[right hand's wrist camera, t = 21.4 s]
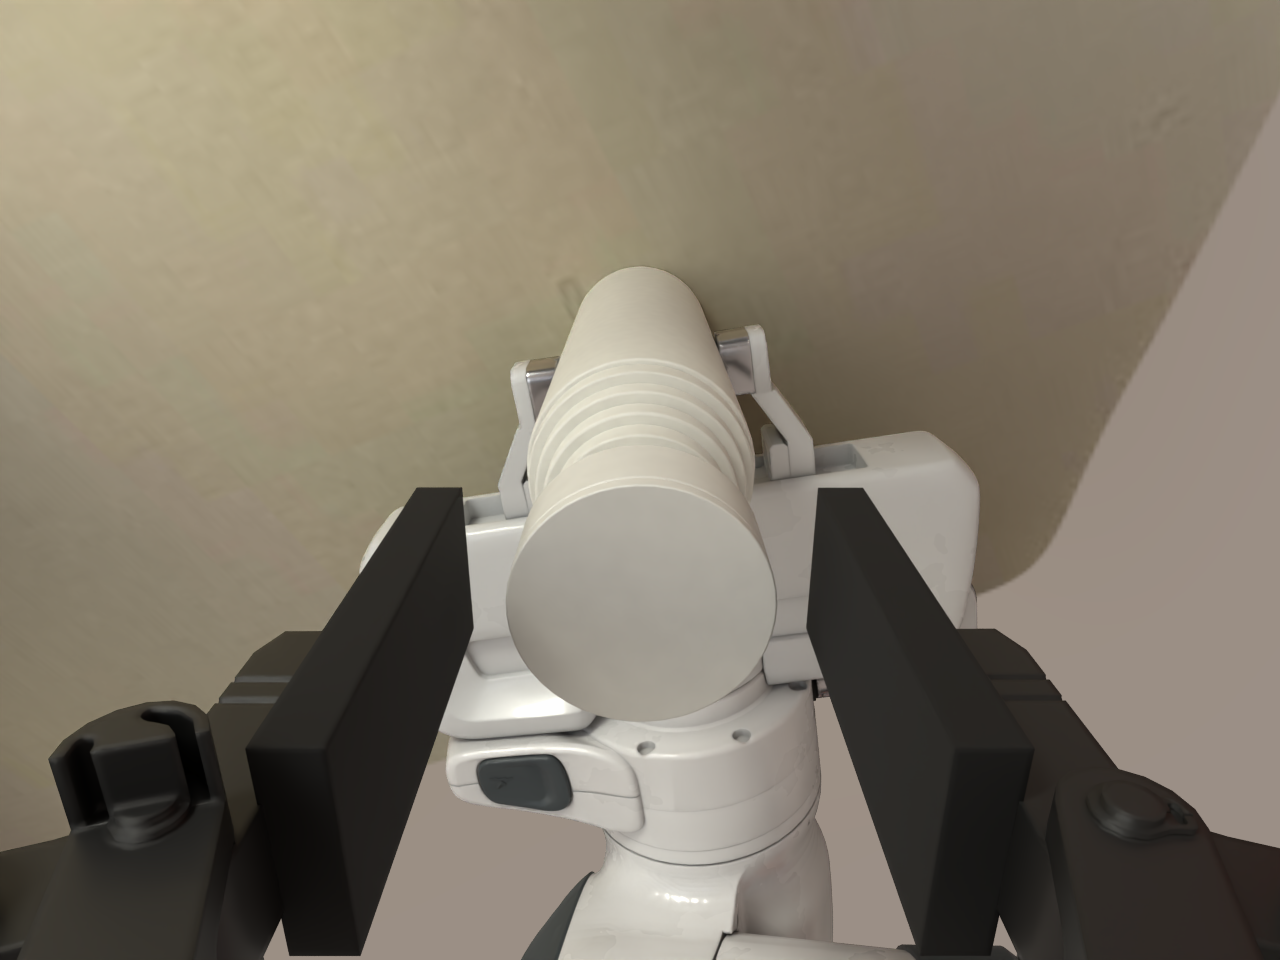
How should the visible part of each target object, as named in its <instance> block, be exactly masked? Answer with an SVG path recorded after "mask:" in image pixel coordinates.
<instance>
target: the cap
mask: <svg viewBox="0 0 1280 960" xmlns="http://www.w3.org/2000/svg"><path fill="white" fill-rule="evenodd" d="M776 613H777V590H776V584H775V580H774V575H773V571H772V568H771V565H770V562H769V558H768V555H767V552H766V549H765V546H764V542H763V539H762V536H761V533H760V530H759V527H758V524H757V521H756V518H755V516H754V513H753V511H752V509H751V507H750V505H749V504H748V502H747V500H746V498H745V497H744V496H743V494H742V493H741V492H740V490H739V489H738V488H737V486H736V485H735V484H734V483H733V482H732V481H731V480H730V479H729V478H728V477H727V476H726V475H724V474H723V473H722V472H720V471H719V470H718V469H717V468H715V467H714V466H712V465H711V464H709V463H707V462H705V461H704V460H702V459H700V458H698V457H696V456H693V455H691V454H688V453H686V452H683V451H679V450H676V449H672V448H668V447H661V446H654V445H630V446H620V447H615V448H611V449H607V450H603V451H600V452H597V453H594V454H592V455H589V456H587V457H585V458H583V459H581V460H579V461H577V462H575V463H573V464H572V465H571V466H569V467H568V468H566V469H565V470H563V471H562V472H561V473H559V474H558V475H557V476H556V477H555V478H554V479H553V480H552V481H551V482H550V483H549V484H548V485H547V486H546V487H545V489H544V490H543V491H542V492H541V494H540V495H539V496H538V498H537V500H536V501H535V503H534V505H533V506H532V508H531V510H530V513H529V515H528V517H527V520H526V522H525V525H524V529H523V532H522V535H521V538H520V542H519V545H518V548H517V551H516V555H515V558H514V561H513V564H512V568H511V571H510V575H509V579H508V583H507V591H506V616H507V621H508V626H509V631H510V634H511V636H512V639H513V642H514V645H515V647H516V649H517V651H518V653H519V655H520V656H521V658H522V660H523V661H524V663H525V664H526V666H527V667H528V668H529V670H530V671H531V673H532V674H533V675H534V676H535V677H536V678H537V679H538V680H539V681H540V682H541V683H542V684H543V685H544V686H545V687H546V688H548V689H549V690H550V691H551V692H552V693H554V694H555V695H557V696H558V697H560V698H561V699H563V700H564V701H566V702H567V703H569V704H571V705H573V706H575V707H577V708H579V709H581V710H584V711H587V712H589V713H592V714H595V715H598V716H602V717H606V718H610V719H615V720H623V721H635V722H649V721H660V720H667V719H672V718H677V717H681V716H684V715H687V714H691V713H694V712H697V711H699V710H701V709H703V708H705V707H708V706H710V705H712V704H713V703H715V702H717V701H718V700H720V699H722V698H723V697H725V696H726V695H728V694H729V693H730V692H731V691H733V690H734V689H735V688H737V687H738V686H739V685H740V684H741V683H742V682H743V681H744V680H745V679H746V678H747V677H748V676H749V675H750V673H751V672H752V671H753V669H754V668H755V667H756V666H757V664H758V663H759V661H760V659H761V658H762V656H763V654H764V652H765V651H766V649H767V646H768V644H769V641H770V639H771V636H772V634H773V629H774V625H775V621H776Z"/></svg>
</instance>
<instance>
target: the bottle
mask: <svg viewBox="0 0 1280 960" xmlns="http://www.w3.org/2000/svg"><path fill="white" fill-rule="evenodd" d="M630 445H654V446H661V447H668V448H672V449H676V450H679V451H683V452H686V453H688V454H691V455H693V456H696V457H698V458H700V459H702V460H704V461H705V462H707V463H709V464H711V465H712V466H714V467H715V468H717V469H718V470H719V471H720V472H722V473H723V474H724V475H726V476H727V477H728V478H729V479H730V480H731V481H732V482H733V483H734V484H735V485H736V486H737V488H738V489H739V490H740V492H741V493H742V494H743V496H744V497H745V498H746V500H747V502H748V504H749V505H750V502H751V498H752V493H753V485H754V474H755V452H754V447H753V442H752V437H751V434H750V431H749V429H748V426H747V423H746V420H745V418H744V415H743V413H742V410H741V408H740V405H739V402H738V400H737V397H736V395H735V392H734V390H733V387H732V384H731V382H730V379H729V377H728V374H727V371H726V369H725V366H724V364H723V361H722V359H721V356H720V353H719V351H718V348H717V346H716V343H715V341H714V338H713V335H712V333H711V330H710V328H709V325H708V323H707V320H706V317H705V315H704V312H703V310H702V307H701V305H700V303H699V301H698V299H697V297H696V296H695V295H694V293H693V292H692V290H691V289H690V288H689V287H688V286H687V285H686V284H685V283H684V282H682V281H681V280H680V279H679V278H677V277H676V276H674V275H672V274H670V273H668V272H666V271H664V270H660V269H657V268H652V267H643V266H637V267H629V268H624V269H621V270H618V271H615V272H613V273H611V274H609V275H607V276H605V277H604V278H603V279H601V280H600V281H599V282H597V283H596V284H595V285H594V286H593V287H592V288H591V290H590V291H589V292H588V293H587V295H586V296H585V298H584V300H583V301H582V303H581V306H580V308H579V310H578V313H577V316H576V318H575V321H574V323H573V326H572V329H571V331H570V334H569V337H568V339H567V342H566V344H565V347H564V350H563V352H562V355H561V358H560V360H559V363H558V365H557V368H556V371H555V373H554V376H553V378H552V381H551V384H550V386H549V389H548V392H547V394H546V397H545V399H544V402H543V405H542V407H541V410H540V413H539V415H538V418H537V420H536V423H535V426H534V428H533V431H532V434H531V438H530V442H529V446H528V454H527V475H528V486H529V492H530V498H531V501H532V505H534V503H535V501H536V500H537V498H538V496H539V495H540V494H541V492H542V491H543V490H544V489H545V487H546V486H547V485H548V484H549V483H550V482H551V481H552V480H553V479H554V478H555V477H556V476H557V475H558V474H559V473H561V472H562V471H563V470H565V469H566V468H568V467H569V466H571V465H572V464H573V463H575V462H577V461H579V460H581V459H583V458H585V457H587V456H589V455H592V454H594V453H597V452H600V451H603V450H607V449H611V448H615V447H620V446H630Z"/></svg>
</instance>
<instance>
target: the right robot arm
mask: <svg viewBox="0 0 1280 960" xmlns="http://www.w3.org/2000/svg"><path fill="white" fill-rule="evenodd" d="M473 629H474V623H473V611H472V599H471V588H470V576H469V564H468V552H467V540H466V528H465V517H464V505H463V493H462V488H416V490H415V491H414V493H413V494H412V496H411V497H410V499H409V500H408V502H407V503H406V505H405V506H404V508H403V509H402V511H401V512H400V514H399V515H398V517H397V519H396V520H395V522H394V523H393V525H392V526H391V528H390V529H389V531H388V532H387V534H386V535H385V537H384V538H383V540H382V541H381V543H380V544H379V546H378V547H377V549H376V550H375V552H374V553H373V555H372V556H371V558H370V560H369V561H368V563H367V564H366V566H365V567H364V569H363V570H362V572H361V573H360V575H359V576H358V578H357V579H356V581H355V582H354V584H353V585H352V587H351V588H350V590H349V591H348V593H347V594H346V596H345V597H344V599H343V601H342V602H341V604H340V605H339V607H338V608H337V610H336V611H335V613H334V614H333V616H332V617H331V619H330V620H329V622H328V623H327V625H326V626H325V628H324V629H323V631H285V632H284V633H282V634H281V635H279V636H278V637H276V638H275V639H273V640H272V641H271V642H269V643H268V644H266V645H265V646H263V647H262V648H260V649H259V650H257V651H256V652H254V653H253V655H252V656H251V657H250V658H249V660H248V661H247V662H246V664H245V665H244V666H243V668H242V669H241V670H240V672H239V673H238V674H237V675H236V677H235V682H231V683H230V685H229V686H228V687H227V689H226V690H225V691H224V692H223V694H222V695H221V696H220V698H219V703H218V704H214V705H213V707H212V708H211V709H210V711H209V712H208V713H207V714H205V713H204V712H203V711H202V710H201V709H199V708H198V707H197V706H196V705H192V704H187V703H183V702H178V701H161V702H146V703H143V704H139V705H135V706H131V707H127V708H123V709H119V710H116V711H114V712H112V713H109V714H107V715H105V716H103V717H100V718H98V719H96V720H94V721H92V722H89V723H87V724H86V725H84V726H83V727H82V728H80V729H79V730H77V731H76V732H75V733H73V734H72V735H70V736H69V737H67V738H66V739H65V740H63V741H62V743H61V744H60V745H59V746H58V748H57V749H56V750H55V751H54V753H53V754H52V755H51V756H50V757H49V759H48V760H49V763H50V766H51V769H52V772H53V775H54V779H55V782H56V785H57V788H58V791H59V794H60V797H61V800H62V803H63V806H64V810H65V813H66V816H67V819H68V822H69V825H70V828H71V832H70V834H69V836H65V837H62V838H58V839H55V840H51V841H47V842H42V843H38V844H34V845H29V846H25V847H20V848H16V849H11V850H7V851H3V852H0V960H264V958H263V956H264V954H265V952H266V950H267V947H268V945H269V943H270V941H271V939H272V937H273V935H274V932H275V930H276V928H277V926H278V924H279V922H280V920H281V919H282V924H283V928H284V933H285V938H286V942H287V947H288V952H289V956H360V955H361V953H362V950H363V947H364V944H365V941H366V938H367V935H368V932H369V929H370V927H371V924H372V921H373V918H374V915H375V912H376V909H377V906H378V904H379V901H380V898H381V895H382V892H383V889H384V886H385V883H386V881H387V877H388V875H389V872H390V869H391V866H392V863H393V860H394V857H395V855H396V851H397V849H398V846H399V843H400V840H401V837H402V834H403V831H404V828H405V826H406V823H407V820H408V817H409V814H410V811H411V808H412V805H413V803H414V800H415V797H416V794H417V791H418V788H419V785H420V782H421V779H422V776H423V774H424V771H425V768H426V765H427V762H428V759H429V756H430V754H431V751H432V748H433V745H434V742H435V739H436V736H437V733H438V730H439V728H440V725H441V722H442V719H443V716H444V713H445V710H446V707H447V704H448V702H449V699H450V696H451V693H452V690H453V687H454V684H455V681H456V678H457V676H458V673H459V670H460V667H461V664H462V661H463V658H464V655H465V652H466V650H467V647H468V644H469V641H470V638H471V635H472V632H473ZM806 629H807V632H808V635H809V638H810V641H811V644H812V647H813V650H814V653H815V655H816V658H817V661H818V664H819V667H820V670H821V673H822V676H823V678H824V681H825V684H826V687H827V690H828V693H829V696H830V699H831V702H832V704H833V707H834V710H835V713H836V716H837V719H838V722H839V724H840V727H841V730H842V733H843V736H844V739H845V742H846V745H847V748H848V751H849V754H850V756H851V759H852V762H853V765H854V768H855V771H856V774H857V776H858V780H859V782H860V785H861V788H862V791H863V794H864V797H865V800H866V803H867V805H868V808H869V811H870V814H871V817H872V820H873V823H874V826H875V829H876V831H877V834H878V837H879V840H880V843H881V846H882V849H883V852H884V854H885V857H886V860H887V863H888V866H889V869H890V872H891V875H892V878H893V880H894V883H895V886H896V889H897V892H898V895H899V898H900V901H901V904H902V906H903V909H904V912H905V915H906V918H907V921H908V924H909V927H910V929H911V932H912V935H913V938H914V941H915V944H916V947H917V950H918V953H919V956H991V952H992V947H993V942H994V938H995V933H996V928H997V924H998V919H999V915H1000V918H1001V920H1002V922H1003V924H1004V926H1005V928H1006V930H1007V932H1008V935H1009V937H1010V939H1011V941H1012V943H1013V945H1014V947H1015V950H1016V952H1017V957H1016V960H1280V848H1276V847H1272V846H1267V845H1262V844H1258V843H1254V842H1249V841H1245V840H1240V839H1236V838H1231V837H1227V836H1224V835H1220V834H1217V833H1214V832H1210V830H1209V828H1208V827H1207V826H1206V824H1205V823H1204V821H1203V820H1202V818H1201V817H1200V816H1199V814H1198V813H1197V811H1196V810H1195V809H1194V808H1193V807H1192V806H1190V805H1189V804H1188V803H1187V802H1186V801H1184V800H1183V799H1182V798H1181V797H1179V796H1178V795H1177V794H1176V793H1174V792H1173V791H1172V790H1170V789H1168V788H1166V787H1164V786H1162V785H1160V784H1158V783H1156V782H1154V781H1152V780H1150V779H1148V778H1146V777H1144V776H1140V775H1137V774H1133V773H1130V772H1127V771H1123V770H1120V769H1118V768H1117V767H1116V765H1115V764H1114V763H1113V761H1112V760H1111V759H1110V757H1109V756H1108V755H1107V754H1106V752H1105V751H1104V750H1103V748H1102V747H1101V746H1100V745H1099V743H1098V742H1097V741H1096V739H1095V738H1094V737H1093V735H1092V734H1091V733H1090V732H1089V730H1088V729H1087V728H1086V726H1085V725H1084V724H1083V722H1082V721H1081V720H1080V719H1079V717H1078V716H1077V715H1076V713H1075V712H1074V711H1073V710H1072V708H1071V707H1070V706H1069V704H1068V703H1067V702H1066V701H1062V698H1061V694H1060V693H1059V691H1058V690H1057V689H1056V688H1055V686H1054V685H1053V684H1052V682H1051V681H1050V680H1046V675H1045V673H1044V672H1043V671H1042V669H1041V668H1040V667H1039V665H1038V664H1037V663H1036V662H1035V660H1034V659H1033V658H1032V656H1031V655H1030V654H1029V652H1028V651H1027V650H1026V649H1024V648H1023V647H1021V646H1020V645H1018V644H1017V643H1015V642H1014V641H1012V640H1011V639H1009V638H1008V637H1006V636H1005V635H1003V634H1002V633H1000V632H999V631H998V630H996V629H956V628H955V626H954V625H953V623H952V622H951V620H950V619H949V617H948V616H947V614H946V613H945V611H944V610H943V608H942V607H941V605H940V604H939V602H938V601H937V599H936V597H935V596H934V594H933V593H932V591H931V590H930V588H929V587H928V585H927V584H926V582H925V581H924V579H923V578H922V576H921V575H920V573H919V572H918V570H917V569H916V567H915V566H914V564H913V563H912V561H911V560H910V558H909V556H908V555H907V553H906V552H905V550H904V549H903V547H902V546H901V544H900V543H899V541H898V540H897V538H896V537H895V535H894V534H893V532H892V531H891V529H890V528H889V526H888V525H887V523H886V522H885V520H884V519H883V517H882V516H881V514H880V512H879V511H878V509H877V508H876V506H875V505H874V503H873V502H872V500H871V499H870V497H869V496H868V494H867V493H866V491H865V490H864V488H818V493H817V505H816V517H815V528H814V540H813V552H812V564H811V576H810V588H809V599H808V611H807V623H806Z"/></svg>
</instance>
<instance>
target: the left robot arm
mask: <svg viewBox="0 0 1280 960" xmlns="http://www.w3.org/2000/svg"><path fill="white" fill-rule="evenodd" d="M714 338H715V343H716V346H717V348H718V351H719V353H720V356H721V359H722V361H723V364H724V366H725V369H726V371H727V374H728V377H729V379H730V382H731V384H732V387H733V390H734V392H735V395H743V394H751V395H752V397H753V398H754V399H755V400H756V402H757V403H758V404H759V406H760V407H761V408H762V410H763V411H764V412H765V413H766V415H767V416H768V417H769V419H770V420H771V421H772V422H773V424H767V425H763V426H762V427H761V428H760V429H761V439H762V449H763V453H762V454H755V474H754V485H753V493H752V498H751V502H750V507H751V509H752V511H753V513H754V516H755V518H756V521H757V524H758V527H759V530H760V533H761V536H762V539H763V542H764V546H765V549H766V552H767V555H768V558H769V562H770V565H771V568H772V571H773V575H774V580H775V584H776V590H777V613H776V621H775V625H774V629H773V634H772V636H771V639H770V641H769V644H768V646H767V649H766V651H765V652H764V654H763V656H762V658H761V659H760V661H759V663H758V664H757V666H756V667H755V668H754V669H753V671H752V672H751V673H750V675H749V676H748V677H747V678H746V679H745V680H744V681H743V682H742V683H741V684H740V685H739V686H738V687H737V688H735V689H734V690H733V691H731V692H730V693H729V694H728V695H726V696H725V697H723V698H722V699H720V700H718V701H717V702H715V703H713V704H712V705H710V706H708V707H705V708H703V709H701V710H699V711H697V712H694V713H691V714H687V715H684V716H681V717H677V718H672V719H667V720H660V721H649V722H635V721H623V720H615V719H610V718H606V717H602V716H598V715H595V714H592V713H589V712H587V711H584V710H581V709H579V708H577V707H575V706H573V705H571V704H569V703H567V702H566V701H564V700H563V699H561V698H560V697H558V696H557V695H555V694H554V693H552V692H551V691H550V690H549V689H548V688H546V687H545V686H544V685H543V684H542V683H541V682H540V681H539V680H538V679H537V678H536V677H535V676H534V675H533V674H532V673H531V671H530V670H529V668H528V667H527V666H526V664H525V663H524V661H523V660H522V658H521V656H520V655H519V653H518V651H517V649H516V647H515V645H514V642H513V639H512V636H511V634H510V631H509V626H508V621H507V616H506V591H507V583H508V579H509V575H510V571H511V568H512V564H513V561H514V558H515V555H516V551H517V548H518V545H519V542H520V538H521V535H522V532H523V529H524V525H525V522H526V520H527V517H528V515H529V513H530V510H531V508H532V506H533V505H532V501H531V498H530V492H529V486H528V475H527V454H528V446H529V442H530V438H531V434H532V431H533V428H534V426H535V423H536V420H537V418H538V415H539V413H540V410H541V407H542V405H543V402H544V399H545V397H546V394H547V392H548V389H549V386H550V384H551V381H552V378H553V376H554V373H555V371H556V368H557V365H558V363H559V360H560V358H561V357H560V356H556V357H549V358H541V359H534V360H526V361H521V362H516V363H514V365H513V367H512V369H511V386H512V391H513V396H514V400H515V405H516V409H517V414H518V418H519V426H518V428H517V430H516V433H515V436H514V439H513V442H512V445H511V448H510V451H509V454H508V457H507V459H506V462H505V465H504V468H503V471H502V474H501V477H500V480H499V483H498V488H499V492H496V493H490V494H483V495H476V496H469V497H463V505H464V517H465V528H466V540H467V552H468V564H469V576H470V588H471V599H472V611H473V623H474V629H473V632H472V635H471V638H470V641H469V644H468V647H467V650H466V652H465V655H464V658H463V661H462V664H461V667H460V670H459V673H458V676H457V678H456V681H455V684H454V687H453V690H452V693H451V696H450V699H449V702H448V704H447V707H446V710H445V713H444V716H443V719H442V722H441V725H440V728H439V730H438V731H439V732H441V733H444V734H446V735H449V736H450V738H449V744H448V751H447V758H446V775H447V779H448V783H449V785H450V788H451V790H452V792H453V793H454V795H455V796H456V797H458V798H459V799H461V800H462V801H465V802H467V803H471V804H475V805H481V806H488V807H496V808H505V809H512V810H520V811H526V812H533V813H539V814H545V815H550V816H555V817H561V818H566V819H570V820H574V821H578V822H582V823H586V824H589V825H593V826H596V827H600V828H602V829H603V832H604V834H605V838H606V854H605V859H604V864H603V867H602V868H601V870H600V871H599V872H597V873H594V872H590V873H589V874H587V875H586V876H585V877H584V878H583V879H582V880H581V881H580V882H579V883H578V884H577V885H576V886H575V887H574V888H573V889H572V890H571V891H570V892H569V894H568V895H567V896H566V897H565V899H564V900H563V901H562V903H561V904H560V905H559V907H558V908H557V909H556V910H555V912H554V913H553V914H552V915H551V917H550V918H549V919H548V921H547V922H546V923H545V925H544V926H543V927H542V928H541V930H540V931H539V932H538V934H537V935H536V937H535V938H534V939H533V941H532V942H531V944H530V946H529V947H528V949H527V950H526V952H525V954H524V956H523V957H522V959H521V960H1016V956H1015V955H1013V954H1012V953H1011V952H1009V951H1008V950H1007V949H1006V948H1004V947H1002V946H993V947H992V952H991V956H919V953H918V950H917V947H916V945H900V946H898V947H897V949H890V948H881V947H872V946H862V945H853V944H844V943H834V942H833V908H832V888H831V874H830V863H829V855H828V850H827V846H826V842H825V839H824V836H823V834H822V831H821V829H820V827H819V825H818V823H817V821H816V819H815V814H816V811H817V808H818V803H819V798H820V793H821V770H820V759H819V749H818V739H817V728H816V719H815V709H814V703H813V701H816V698H822V697H830V696H829V693H828V690H827V687H826V684H825V681H824V678H823V676H822V673H821V670H820V667H819V664H818V661H817V658H816V655H815V653H814V650H813V647H812V644H811V641H810V638H809V635H808V632H807V629H806V623H807V611H808V599H809V588H810V576H811V564H812V552H813V540H814V528H815V517H816V505H817V493H818V488H864V490H865V491H866V493H867V494H868V496H869V497H870V499H871V500H872V502H873V503H874V505H875V506H876V508H877V509H878V511H879V512H880V514H881V516H882V517H883V519H884V520H885V522H886V523H887V525H888V526H889V528H890V529H891V531H892V532H893V534H894V535H895V537H896V538H897V540H898V541H899V543H900V544H901V546H902V547H903V549H904V550H905V552H906V553H907V555H908V556H909V558H910V560H911V561H912V563H913V564H914V566H915V567H916V569H917V570H918V572H919V573H920V575H921V576H922V578H923V579H924V581H925V582H926V584H927V585H928V587H929V588H930V590H931V591H932V593H933V594H934V596H935V597H936V599H937V601H938V602H939V604H940V605H941V607H942V608H943V610H944V611H945V613H946V614H947V616H948V617H949V619H950V620H951V622H952V623H953V625H954V626H955V628H956V629H977V597H976V593H975V590H974V587H973V585H972V583H971V582H972V576H973V571H974V564H975V557H976V549H977V539H978V528H979V513H980V488H979V483H978V480H977V478H976V476H975V474H974V472H973V471H972V470H971V468H970V467H969V466H968V465H967V463H966V462H965V461H964V460H963V459H962V458H961V457H960V456H959V455H958V454H957V453H956V452H955V451H954V450H952V449H951V448H950V447H949V446H948V445H946V444H945V443H944V442H942V441H941V440H940V439H938V438H937V437H936V436H934V435H933V434H931V433H929V432H926V431H911V432H905V433H898V434H891V435H884V436H878V437H871V438H864V439H857V440H850V441H843V442H837V443H830V444H823V445H816V446H813V438H812V437H811V435H810V433H809V432H808V430H807V428H806V426H805V425H804V423H803V421H802V420H801V418H800V417H799V415H798V414H797V413H796V412H795V410H794V409H793V408H792V406H791V405H790V404H789V402H788V401H787V400H786V399H785V397H784V396H783V395H782V393H781V392H780V391H779V389H778V388H777V387H776V386H775V384H774V383H773V382H772V380H771V377H770V367H769V357H768V348H767V341H766V337H765V332H764V330H763V329H762V327H761V326H760V324H758V325H751V326H745V327H739V328H733V329H727V330H721V331H715V332H714ZM403 508H404V506H403V507H400V508H397V509H396V510H395V511H393V512H392V513H391V514H390V515H389V517H388V518H387V519H386V521H385V522H384V523H383V524H382V526H381V527H380V528H379V530H378V531H377V532H376V534H375V535H374V537H373V539H372V541H371V542H370V544H369V546H368V547H367V550H366V552H365V554H364V556H363V559H362V561H361V565H360V570H359V575H360V573H361V572H362V570H363V569H364V567H365V566H366V564H367V563H368V561H369V560H370V558H371V556H372V555H373V553H374V552H375V550H376V549H377V547H378V546H379V544H380V543H381V541H382V540H383V538H384V537H385V535H386V534H387V532H388V531H389V529H390V528H391V526H392V525H393V523H394V522H395V520H396V519H397V517H398V515H399V514H400V512H401V511H402V509H403Z"/></svg>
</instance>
